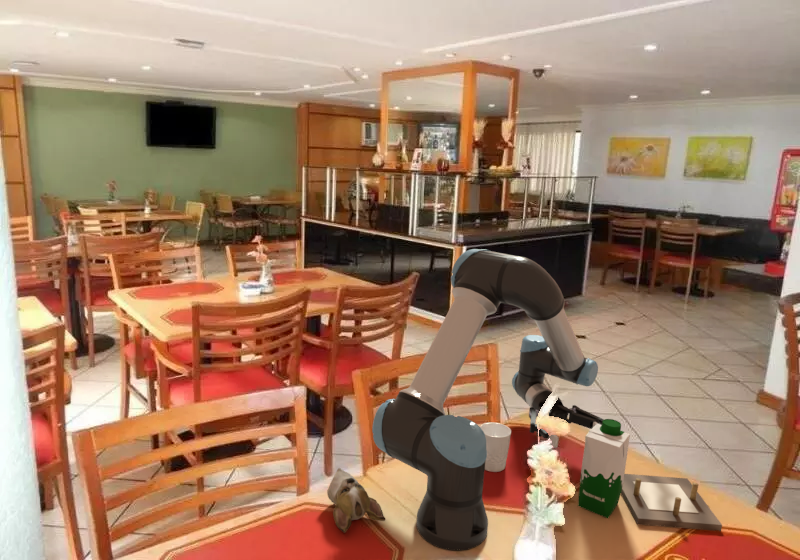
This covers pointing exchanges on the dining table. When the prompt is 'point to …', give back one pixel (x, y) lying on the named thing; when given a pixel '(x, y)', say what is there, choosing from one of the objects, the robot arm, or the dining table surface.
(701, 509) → the pin base plate
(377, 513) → the ceramic sculpture
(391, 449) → the robot arm
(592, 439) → the soya milk
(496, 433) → the white cup
